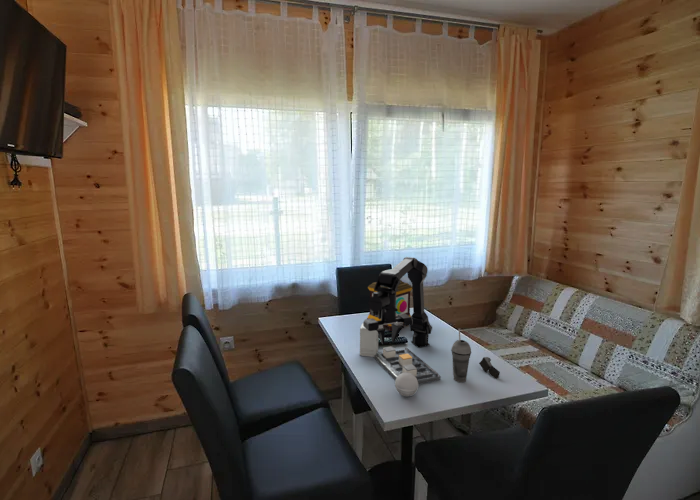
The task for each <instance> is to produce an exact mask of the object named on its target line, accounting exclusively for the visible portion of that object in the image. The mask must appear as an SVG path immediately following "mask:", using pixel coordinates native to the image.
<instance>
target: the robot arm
mask: <svg viewBox="0 0 700 500" xmlns="http://www.w3.org/2000/svg"><path fill="white" fill-rule="evenodd" d="M389 269H390V268H389ZM389 269H386V270H382V271H381V272H380V273H379V275H378V277H377V280H376V281H375V282H376V285H375V288H374V291H377V292H375V293H373V296H372V297H371V298H370V297H369V299H368V302H367V304H368V307H369V310H370V309H371V315H375V317H378V318H379V319H381V320H380V321H376V320H375V319H373V318H372V319H367V318H366V319H364V320H363V322H362V323H363V326H364V327H365V328H366V329H367V330H368V331H375V330H376V331H377V332H378V338H379V340H380V343H381V345H384V344H385V338H386V337H385V334H386V329H384V326H385V325H388V324H391V325H392V332H391V342H392V343H395V341H396V340H397V339H398V338H397V337H398V336H399V334H400V332H401V331H402V329H405V326H409V328H410V332H413V334H412V339H411V341H410V342H411V344H413V345H414V346H416V347H417V348H424V347H429V346H431V344H430V343H429V335H431V334H432V331H433V327H432V324H431V323H430V321H429V315H427V313H426V312H425V299H424V297H425V296H424V295H425V294H424V281H425V280H426V278H427V277H428V276H427V274H428V265H426V264H425V263H423V262H421V261H419V260H418V259H417V258H416V257H411V256H406V257H404V258H403V259H402V261H400V262H399V263H398V264H396V265H395V266H394V267H393V268H391V269H390V270H389ZM406 274H407V278H408V280H409V281H410V282H411V286H412V290H411V291H412V309H413V312H412V314H411V317H410V316H408V315H407V314H401V315H398V316H397V318H396V311H398V309H397V308H396V292H397V291H398V289H397V288H398V285H399V284H400V283H401V282H400V280H402V278H403V277H404V276H405V275H406ZM380 286H382V287H380ZM384 287H388V288H384ZM403 322H404V323H403Z"/></svg>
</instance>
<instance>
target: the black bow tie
mask: <svg viewBox="0 0 700 500" xmlns="http://www.w3.org/2000/svg"><path fill="white" fill-rule="evenodd" d="M491 361H492V359H491V357H489V356H483V358H482V359H481V361H480V362H479V363H478V364H479V366H480V367H481V368H482V370H483V372H484V373H485V372H488V374H489V375H490V376H491V377H493V378H494V379H499V377H500V372H501V371H499V370H498V369H497V368H495V366H494V365H493V364H492V362H491Z"/></svg>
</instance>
